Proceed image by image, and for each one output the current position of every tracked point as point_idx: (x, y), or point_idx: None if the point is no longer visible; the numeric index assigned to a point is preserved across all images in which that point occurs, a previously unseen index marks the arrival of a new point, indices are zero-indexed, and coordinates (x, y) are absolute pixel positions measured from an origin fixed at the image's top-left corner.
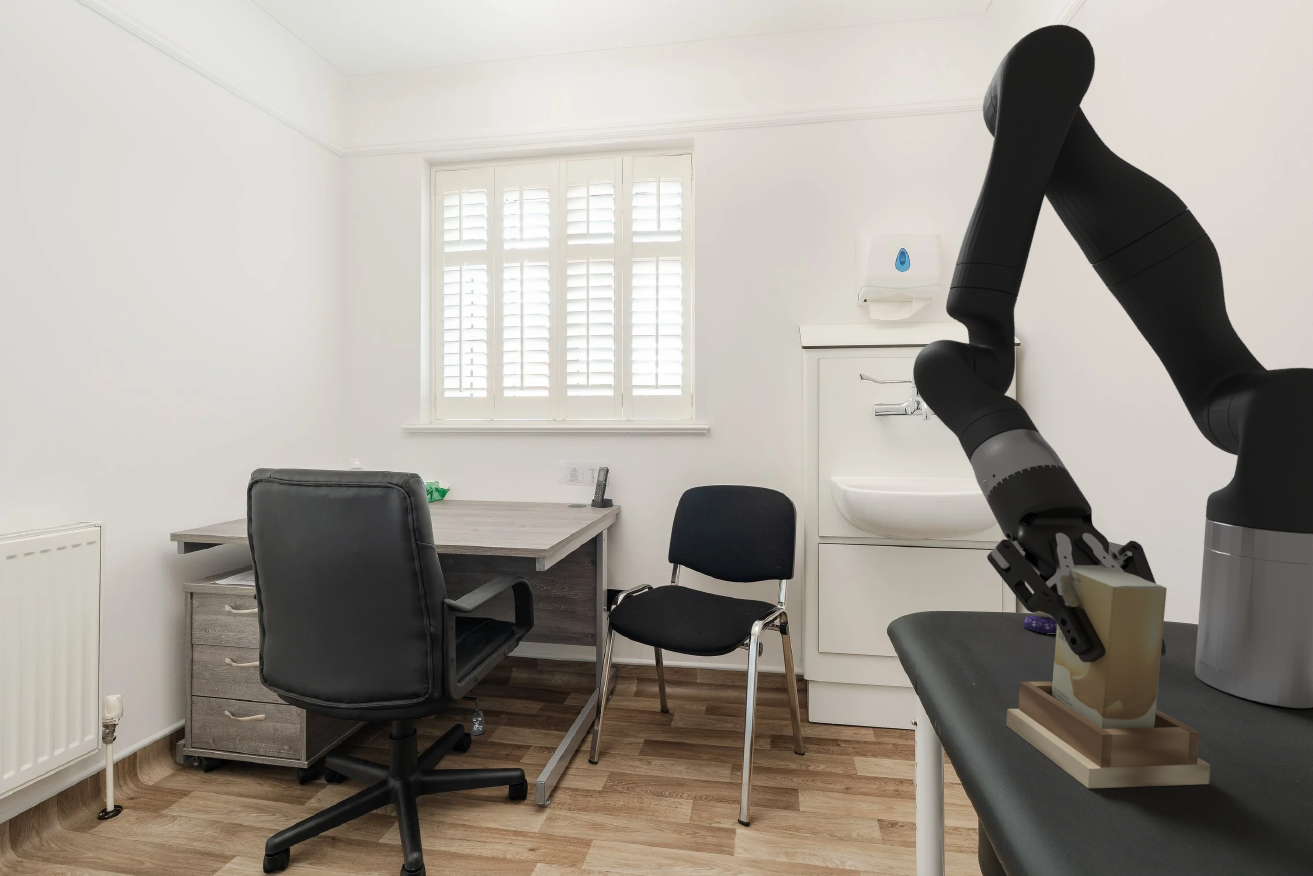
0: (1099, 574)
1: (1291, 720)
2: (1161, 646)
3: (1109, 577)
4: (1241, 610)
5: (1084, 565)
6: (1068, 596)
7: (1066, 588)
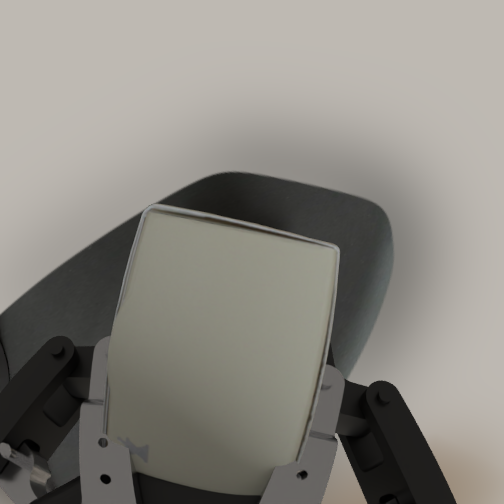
0: (261, 384)
1: (5, 317)
2: None
3: (259, 341)
4: None
5: (199, 484)
6: (328, 389)
7: (324, 412)
